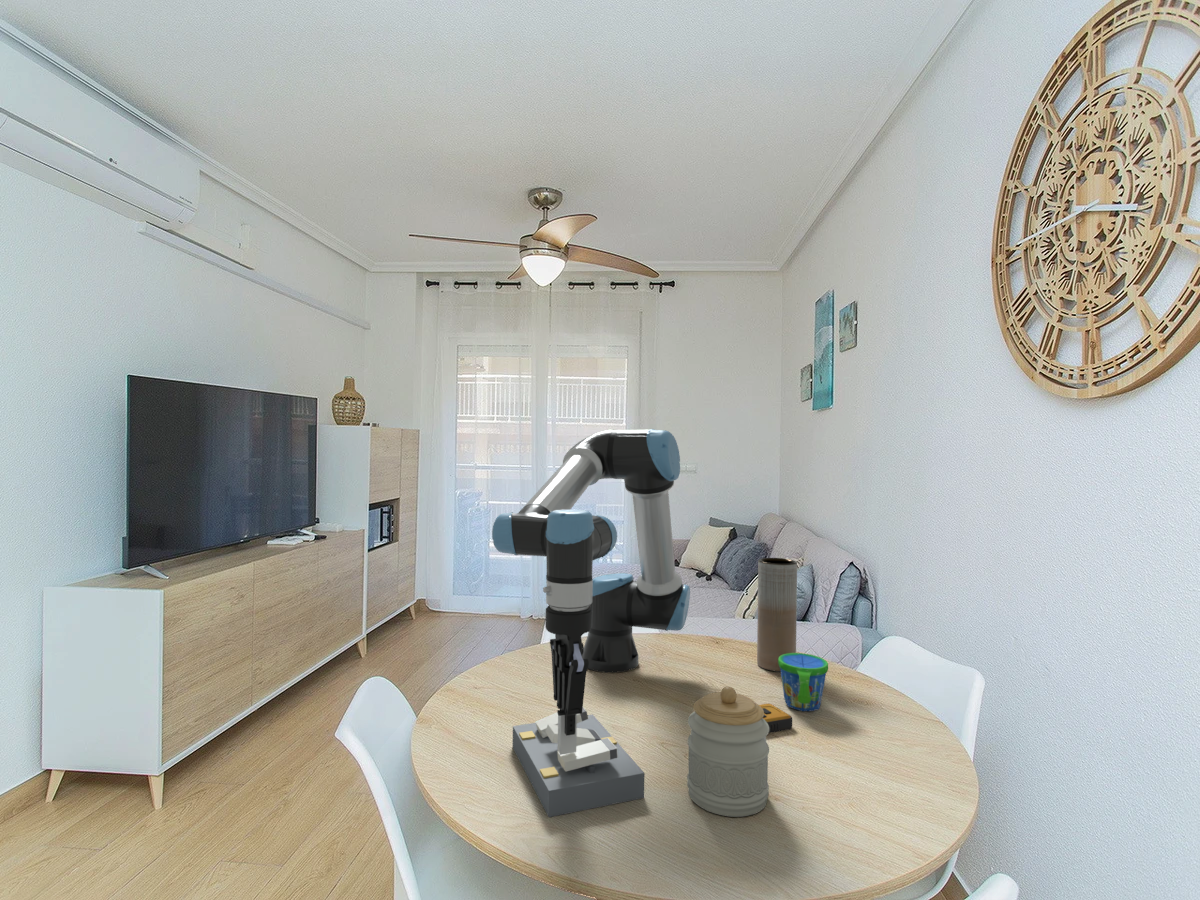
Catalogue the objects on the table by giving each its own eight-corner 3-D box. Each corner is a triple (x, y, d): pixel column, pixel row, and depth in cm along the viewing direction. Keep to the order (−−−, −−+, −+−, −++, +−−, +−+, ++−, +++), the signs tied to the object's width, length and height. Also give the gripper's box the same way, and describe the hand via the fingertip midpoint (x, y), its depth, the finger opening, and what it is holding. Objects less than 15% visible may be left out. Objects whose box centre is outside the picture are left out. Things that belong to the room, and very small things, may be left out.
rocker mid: (545, 732, 109) (547, 723, 109) (591, 738, 112) (594, 729, 112) (552, 742, 105) (554, 733, 106) (600, 748, 108) (602, 739, 109)
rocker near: (557, 760, 103) (557, 751, 103) (608, 746, 106) (607, 737, 106) (565, 771, 99) (564, 762, 99) (617, 757, 102) (617, 748, 102)
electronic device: (795, 732, 127) (795, 715, 127) (729, 743, 121) (729, 726, 121) (769, 715, 135) (769, 700, 135) (706, 725, 129) (706, 709, 129)
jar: (767, 781, 106) (768, 677, 106) (770, 824, 94) (771, 706, 94) (690, 771, 109) (691, 670, 109) (683, 812, 97) (684, 698, 97)
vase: (755, 658, 171) (756, 557, 171) (792, 660, 169) (793, 558, 169) (759, 671, 161) (760, 563, 161) (799, 673, 159) (800, 564, 160)
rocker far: (536, 729, 116) (534, 721, 116) (581, 710, 119) (579, 702, 119) (542, 738, 112) (540, 730, 112) (588, 718, 115) (586, 710, 115)
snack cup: (826, 724, 129) (827, 674, 130) (774, 715, 133) (774, 667, 133) (828, 697, 144) (829, 653, 144) (781, 690, 148) (781, 647, 148)
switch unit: (512, 747, 117) (512, 720, 117) (592, 734, 123) (592, 709, 123) (548, 817, 95) (548, 784, 95) (644, 797, 101) (644, 766, 101)
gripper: (535, 598, 106) (534, 737, 106) (558, 617, 94) (556, 774, 94) (577, 595, 109) (575, 731, 109) (605, 613, 97) (603, 766, 96)
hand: (566, 751), depth 101 cm, fingers closed
